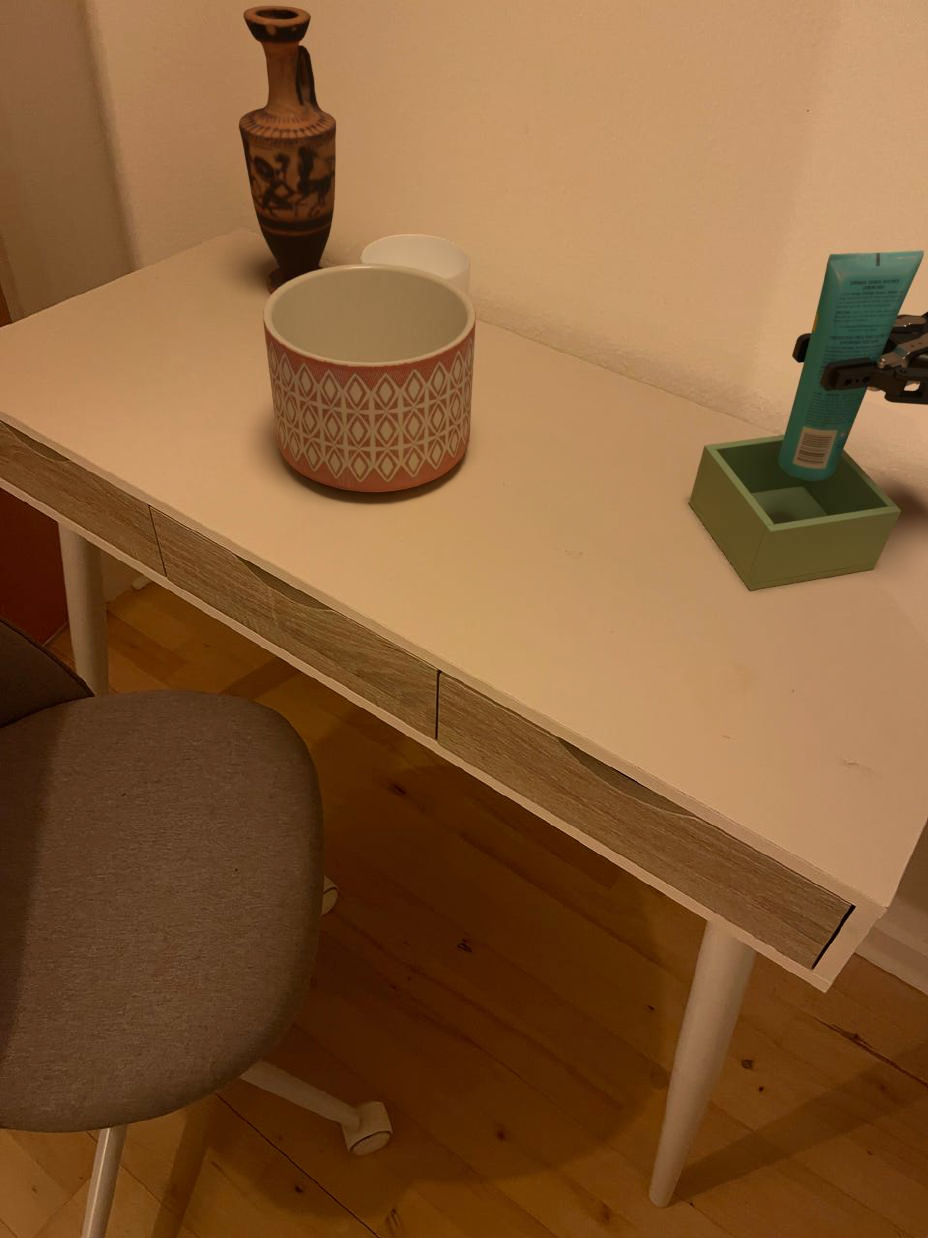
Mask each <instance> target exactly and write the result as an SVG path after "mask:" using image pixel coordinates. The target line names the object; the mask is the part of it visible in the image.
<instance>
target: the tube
mask: <svg viewBox="0 0 928 1238" xmlns="http://www.w3.org/2000/svg"><path fill="white" fill-rule="evenodd" d="M924 254H925V251H924V250H923V249H920V250H905V251H901V250H899V251H881V252H880V251H879V252H847V253H830V254H829V256H828V259H827V262H826V266H825V271H824V275H823V281H822V287H821V291H820V295H819V299H818V304H817V308H816V311H815V316H814V320H813V324H812V328H811V332H810V333H811V336H810V341H809V345H808V349H807V353H806V357H805V360H804V362H803V364H802V368H801V372H800V377H799V380H798V385H797V387H796V391H795V395H794V399H793V403H792V406H791V411H790V414H789V418H788V422H787V424H786V428H785V432H784V434H783V435H784V439H783V442H782V446H781V450H780V453H779V457H778V463H779V466H780V468H781V469H783V470H784V471H785V472H786V473H787V474H789V475H790V476H793V477H796V478H799V479H802V480H807V481H821V480H824V479H827V478H829V477H831V476H832V475H833V473H834V471H835V469H836V467H837V464H838V461H839V459H840V456H841V454H842V451H843V449H844V450H845V446H846V444H847V441H848V438H849V436H850V434H851V431H852V428H853V426H854V423H855V422H856V418H857V416H858V413H859V411H860V408H861V405H862V403H863V401H864V398H865V395H866V393H867V391H868V390H867V389H866V388H865V387H864V388H856V389H848V390H833V391H826V390H824V389H823V388H822V387H821V385H820V381H821V378H822V375H823V372H824V369H825V367H826V365H827V364H828V363H830V362H833V361H841V360H849V359H857V358H865V357H869V358H870V359H871V360H872V361H873V362H874V360H875V358H876V357H878V356H881V354H882V352H883V349H884V347H885V344H886V342H887V340H888V337H889V335H890V332H891V330H892V328H893V325H894V323H895V321H896V318H897V316H898V315H900V314H899V313H900V311H901V309H902V306H903V305H904V302H905V299H906V298H907V295H908V292H909V290H910V288H911V286H912V284H913V281H914V280H915V277H916V275H917V274H918V273H917V272H918V271H919V269H920V267H921V264H922V261H923V258H924Z"/></svg>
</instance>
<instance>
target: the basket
mask: <svg viewBox="0 0 928 1238" xmlns="http://www.w3.org/2000/svg"><path fill="white" fill-rule="evenodd" d="M784 435H785V434H779V435H771V436H764V437H755V438H749V439H743V440H742V439H741V440H735V441H728V442H719V443H713V444H712V443H711V444H705V445H704V446H703V450H702V453H701V457H700V460H699V464H698V468H697V472H696V475H695V478H694V483H693V487H692V491H691V495H690V498H689V501H688V504H689V506H690V508H691V509H692V510H693V512H694V513H695V515H696V516H697V517H698V519H699V520H700V521H701V523H702V525H703V526H704V528H705V529H706V530H707V531H708V533H709V535H710V536H711V537H712V538H713V540H714V541H715V543H716V544H717V546H718V547H719V549H720V550H721V552H722V553H723V555H724V556H725V557H726V559H727V560H728V562H729V563H730V564H731V566H732V567H733V569H734V570H735V571H736V573H737V574H738V576H739V577H740V579H741V580H742V582H743V583H744V584H745V586H746V588H747V589H748V590H749V591H756V590H761V589H766V588H772V587H778V586H785V585H789V584H797V583H802V582H807V581H812V580H819V579H823V578H830V577H835V576H841V575H847V574H853V573H860V572H864V571H865V572H866V571H870V570H871V571H872V570H874V569H875V568H876V566H877V564H878V561H879V559H880V557H881V555H882V553H883V550H884V548H885V547H886V544H887V542H888V540H889V538H890V536H891V533H892V532H893V529H894V527H895V525H896V523H897V521H898V518H899V516H900V514H901V513H902V510H901V509H900V507H899V506H898V505H897V504H896V503H895V502H894V501H893V500H892V498H890V497H889V496H888V495H887V493H885V491H884V490H883V489H882V488H881V487H880V486H879V485H878V484H877V483H876V482H875V481H874V480H873V479H872V478H871V477H870V476H869V474H868V473H866V471H865V470H864V469H863V468H862V467H861V466H860V465H859V464H858V462H857V461H855V460H854V458H852V456H851V455H850V454H849V453H848V452H847V451H846V450H845V448H844V449H843V451H842V454H841V456H840V459H839V461H838V464H837V467H836V469H835V471H834V473H833V475H832V476H831V477H829V478H827V479H824V480H821V481H807V480H802V479H799V478H796V477H793V476H790V475H789V474H787V473H786V472H785V471H784V470H783V469H781V468H780V466H779V463H778V457H779V453H780V450H781V446H782V442H783V439H784Z"/></svg>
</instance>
